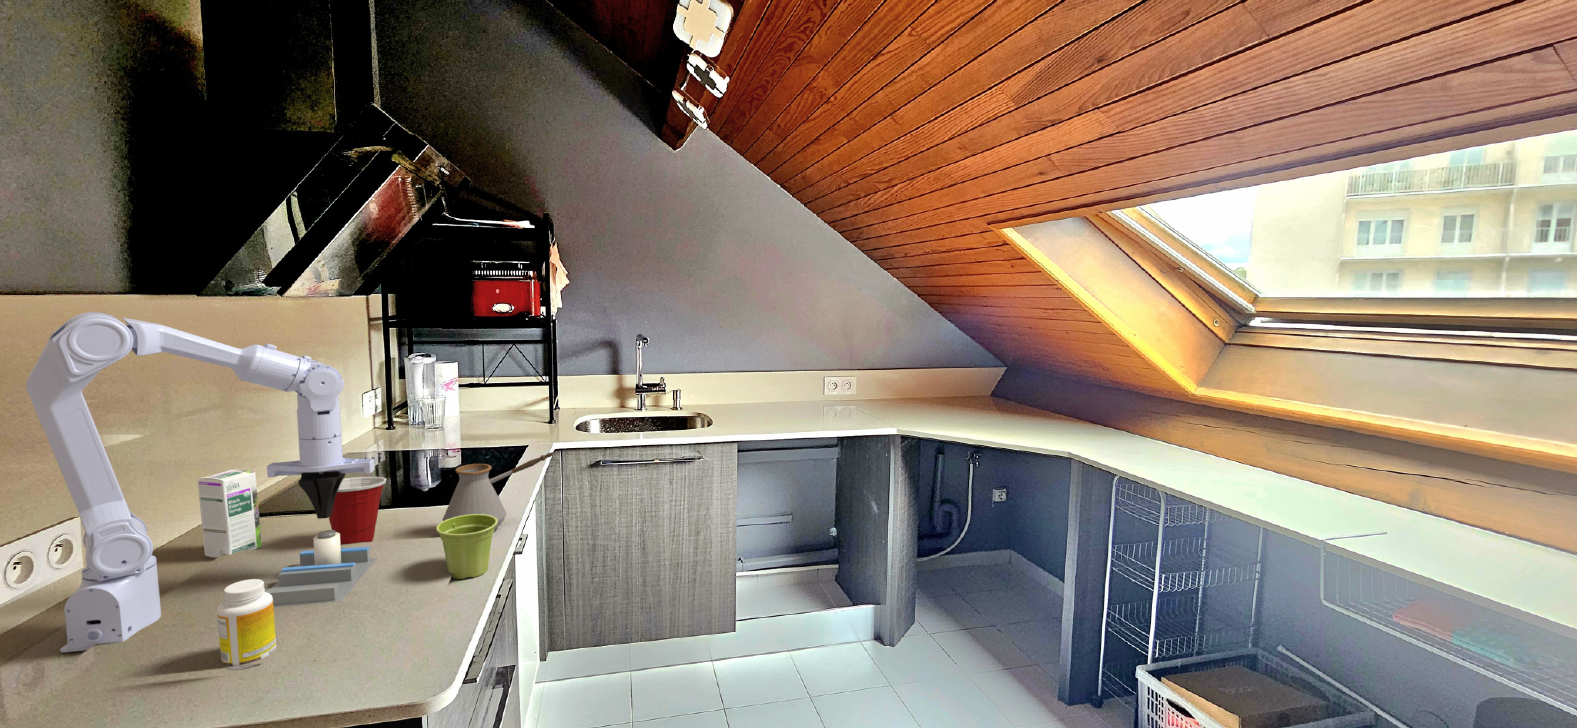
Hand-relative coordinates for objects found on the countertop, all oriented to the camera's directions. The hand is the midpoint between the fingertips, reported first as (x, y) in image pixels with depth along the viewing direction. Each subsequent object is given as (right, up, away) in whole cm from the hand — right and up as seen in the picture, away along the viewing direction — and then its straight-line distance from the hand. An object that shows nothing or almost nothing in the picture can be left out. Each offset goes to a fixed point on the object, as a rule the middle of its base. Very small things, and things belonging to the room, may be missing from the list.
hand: (324, 516), depth 107 cm
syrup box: (-23, -9, +9) cm, 26 cm away
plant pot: (+22, -11, +5) cm, 25 cm away
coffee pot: (+18, -8, +25) cm, 32 cm away
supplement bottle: (+6, -14, -23) cm, 27 cm away
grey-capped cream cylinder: (0, -9, +1) cm, 9 cm away
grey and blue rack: (+1, -11, -3) cm, 11 cm away
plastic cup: (-5, -9, +15) cm, 18 cm away
